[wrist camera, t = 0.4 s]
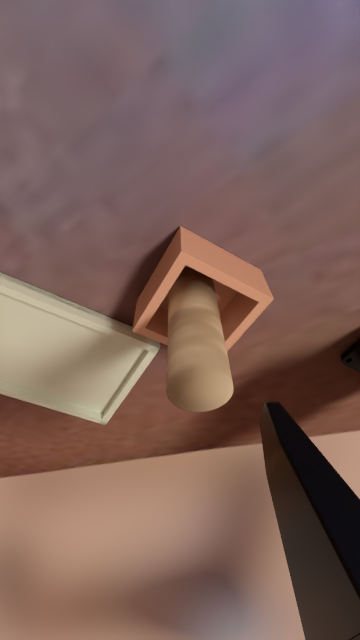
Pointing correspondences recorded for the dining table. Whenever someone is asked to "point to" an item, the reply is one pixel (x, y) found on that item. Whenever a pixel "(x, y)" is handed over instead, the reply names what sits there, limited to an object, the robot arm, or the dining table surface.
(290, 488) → the robot arm
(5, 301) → the tray
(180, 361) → the dowel
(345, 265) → the dining table surface
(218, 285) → the orange open box
